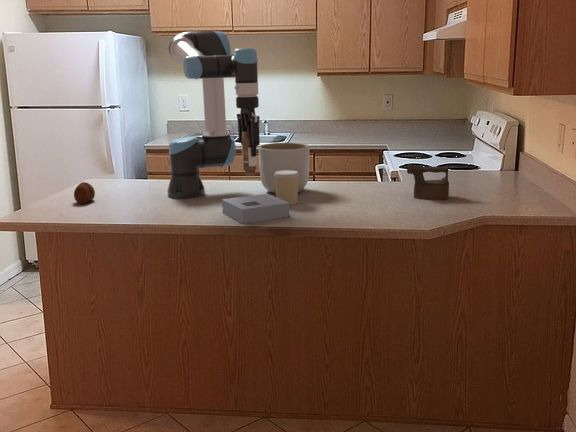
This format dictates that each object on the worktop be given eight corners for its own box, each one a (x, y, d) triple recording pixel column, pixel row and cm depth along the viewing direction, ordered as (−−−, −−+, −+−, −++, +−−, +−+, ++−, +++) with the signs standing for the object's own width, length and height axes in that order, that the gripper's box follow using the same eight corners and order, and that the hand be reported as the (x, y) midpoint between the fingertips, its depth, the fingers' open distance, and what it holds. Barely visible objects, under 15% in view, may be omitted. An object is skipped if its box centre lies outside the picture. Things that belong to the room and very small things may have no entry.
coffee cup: (298, 199, 249) (298, 169, 246) (299, 205, 240) (299, 174, 237) (274, 200, 249) (273, 170, 246) (275, 206, 240) (274, 174, 237)
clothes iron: (405, 195, 252) (406, 162, 249) (446, 195, 251) (447, 161, 248) (407, 200, 245) (408, 165, 241) (449, 199, 244) (451, 165, 240)
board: (222, 212, 231) (222, 199, 230) (267, 206, 239) (266, 193, 238) (242, 223, 216) (242, 209, 215) (289, 216, 224) (289, 202, 223)
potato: (70, 205, 248) (68, 185, 246) (79, 199, 259) (77, 179, 257) (90, 205, 248) (87, 185, 246) (98, 198, 259) (96, 179, 257)
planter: (282, 199, 250) (281, 151, 246) (249, 191, 266) (248, 146, 261) (320, 191, 264) (319, 145, 259) (287, 184, 279) (286, 141, 274)
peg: (241, 174, 221) (239, 131, 217) (253, 173, 223) (251, 130, 219) (246, 176, 217) (245, 132, 213) (259, 175, 219) (257, 131, 215)
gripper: (226, 95, 219) (229, 162, 225) (247, 97, 204) (250, 169, 209) (246, 94, 222) (249, 160, 228) (268, 96, 207) (270, 167, 213)
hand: (249, 164), depth 219 cm, fingers closed on peg, 4 cm apart
